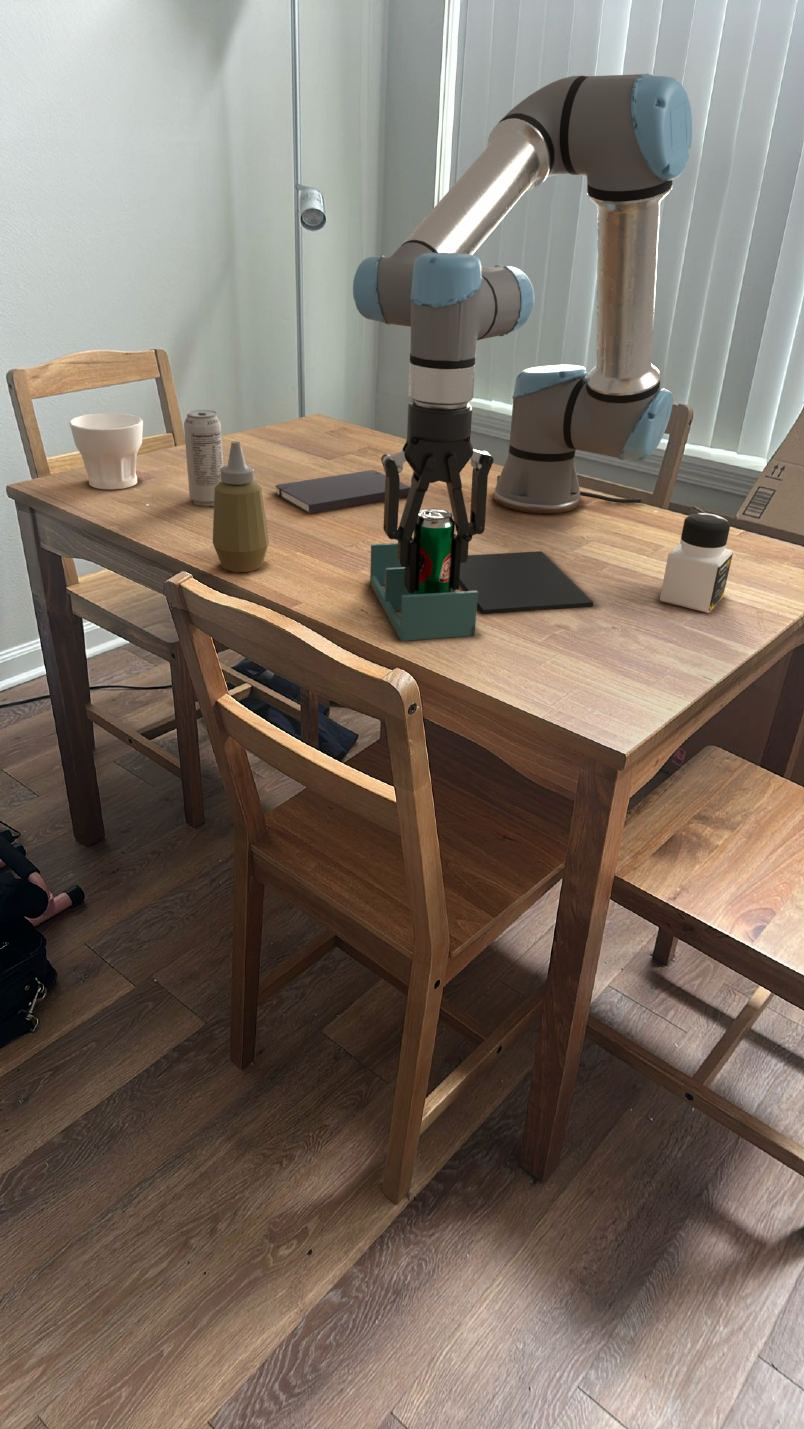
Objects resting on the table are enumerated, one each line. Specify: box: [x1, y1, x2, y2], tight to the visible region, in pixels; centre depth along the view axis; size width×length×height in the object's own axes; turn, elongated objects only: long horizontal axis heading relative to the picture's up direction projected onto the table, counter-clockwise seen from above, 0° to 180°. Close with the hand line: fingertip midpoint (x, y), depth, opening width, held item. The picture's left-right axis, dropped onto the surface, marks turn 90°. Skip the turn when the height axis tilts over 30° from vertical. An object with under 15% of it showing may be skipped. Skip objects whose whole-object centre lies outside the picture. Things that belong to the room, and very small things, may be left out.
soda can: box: [411, 507, 456, 595], centre depth 120 cm, size 5×5×12 cm
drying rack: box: [369, 542, 478, 642], centre depth 126 cm, size 10×19×6 cm, turn 14°
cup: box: [68, 412, 144, 491], centre depth 169 cm, size 12×12×11 cm
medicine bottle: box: [659, 512, 734, 614], centre depth 131 cm, size 7×7×12 cm
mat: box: [459, 550, 594, 614], centre depth 137 cm, size 16×20×1 cm
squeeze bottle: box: [212, 440, 270, 573], centre depth 134 cm, size 8×8×18 cm
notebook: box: [274, 469, 411, 514], centre depth 170 cm, size 13×2×21 cm
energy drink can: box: [183, 409, 224, 507], centre depth 160 cm, size 6×6×15 cm
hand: (431, 586), depth 122 cm, fingers closed on soda can, 5 cm apart
